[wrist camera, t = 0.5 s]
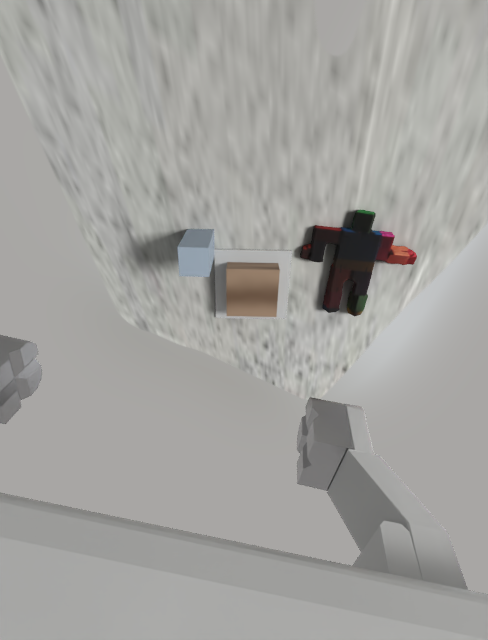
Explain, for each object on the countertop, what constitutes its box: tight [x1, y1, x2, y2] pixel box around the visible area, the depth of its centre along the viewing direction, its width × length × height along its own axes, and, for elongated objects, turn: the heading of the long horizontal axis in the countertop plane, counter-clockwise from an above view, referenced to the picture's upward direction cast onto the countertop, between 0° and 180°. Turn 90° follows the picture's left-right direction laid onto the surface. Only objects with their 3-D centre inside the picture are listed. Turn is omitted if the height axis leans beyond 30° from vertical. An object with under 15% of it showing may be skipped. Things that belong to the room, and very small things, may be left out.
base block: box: [226, 262, 280, 317], centre depth 57 cm, size 8×8×3 cm
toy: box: [300, 210, 417, 316], centre depth 56 cm, size 15×16×3 cm
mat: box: [214, 249, 292, 319], centre depth 59 cm, size 12×12×1 cm
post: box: [177, 229, 214, 277], centre depth 51 cm, size 4×4×9 cm
